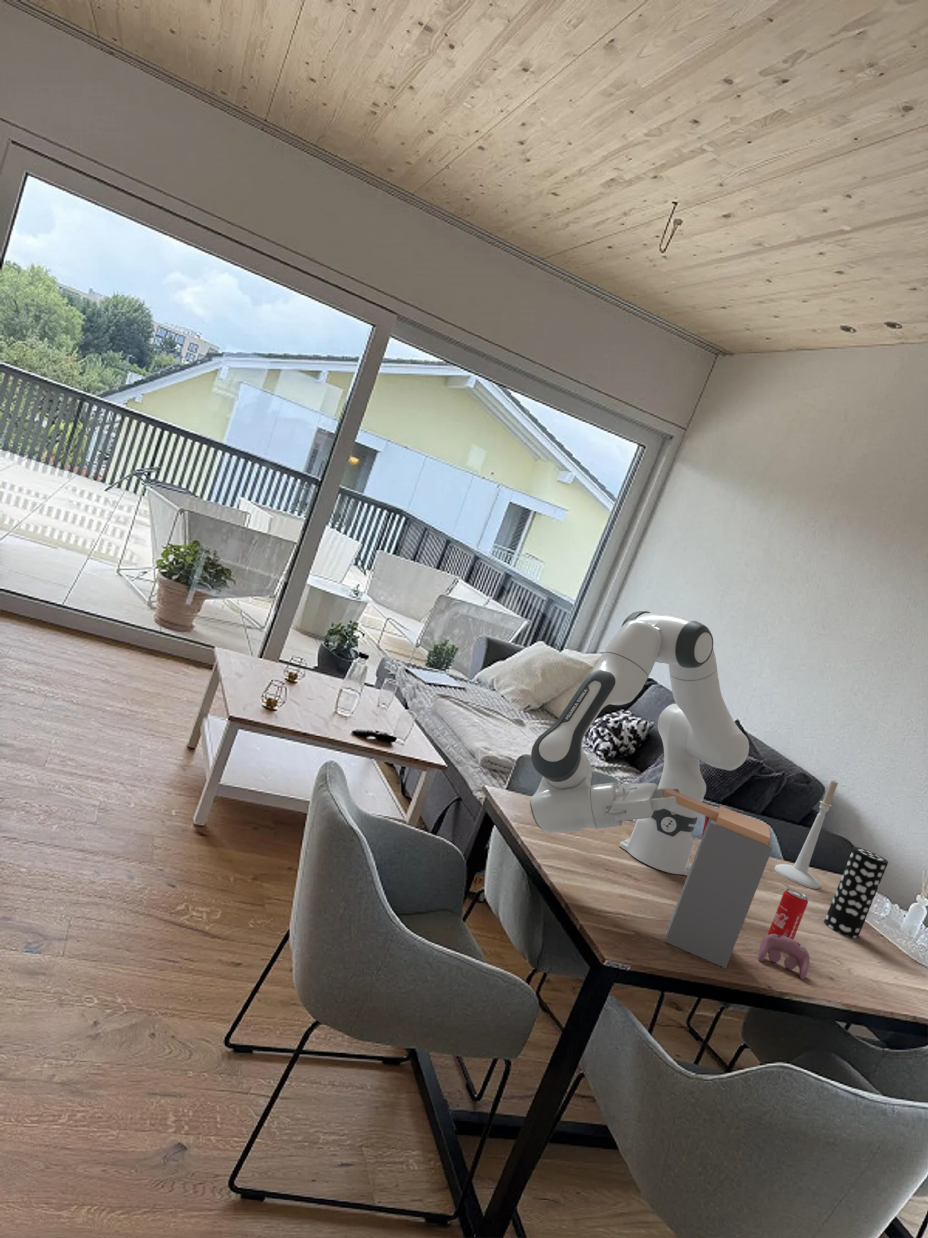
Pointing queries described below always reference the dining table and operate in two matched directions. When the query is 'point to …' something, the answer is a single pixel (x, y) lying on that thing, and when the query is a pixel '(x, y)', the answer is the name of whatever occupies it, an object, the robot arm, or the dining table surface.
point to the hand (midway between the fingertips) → (678, 796)
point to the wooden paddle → (725, 817)
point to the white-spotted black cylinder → (855, 892)
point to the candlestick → (808, 847)
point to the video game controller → (789, 946)
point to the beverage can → (789, 914)
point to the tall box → (717, 893)
